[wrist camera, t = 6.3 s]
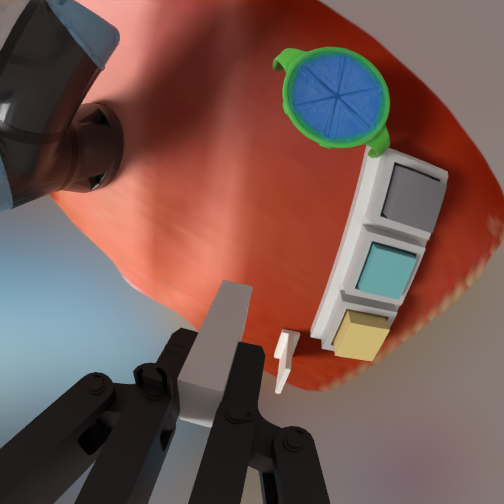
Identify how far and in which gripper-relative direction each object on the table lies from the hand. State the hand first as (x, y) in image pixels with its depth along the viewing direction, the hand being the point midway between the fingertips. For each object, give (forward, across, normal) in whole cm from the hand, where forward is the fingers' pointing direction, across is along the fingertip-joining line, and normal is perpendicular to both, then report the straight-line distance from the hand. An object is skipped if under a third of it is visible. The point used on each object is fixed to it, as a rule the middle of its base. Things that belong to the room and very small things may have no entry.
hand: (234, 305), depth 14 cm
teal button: (+22, +17, -4) cm, 28 cm away
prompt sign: (+24, +7, -23) cm, 34 cm away
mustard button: (+21, +16, -14) cm, 30 cm away
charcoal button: (+21, +17, +6) cm, 27 cm away
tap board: (+24, +17, -5) cm, 30 cm away
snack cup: (+25, +5, +14) cm, 29 cm away
